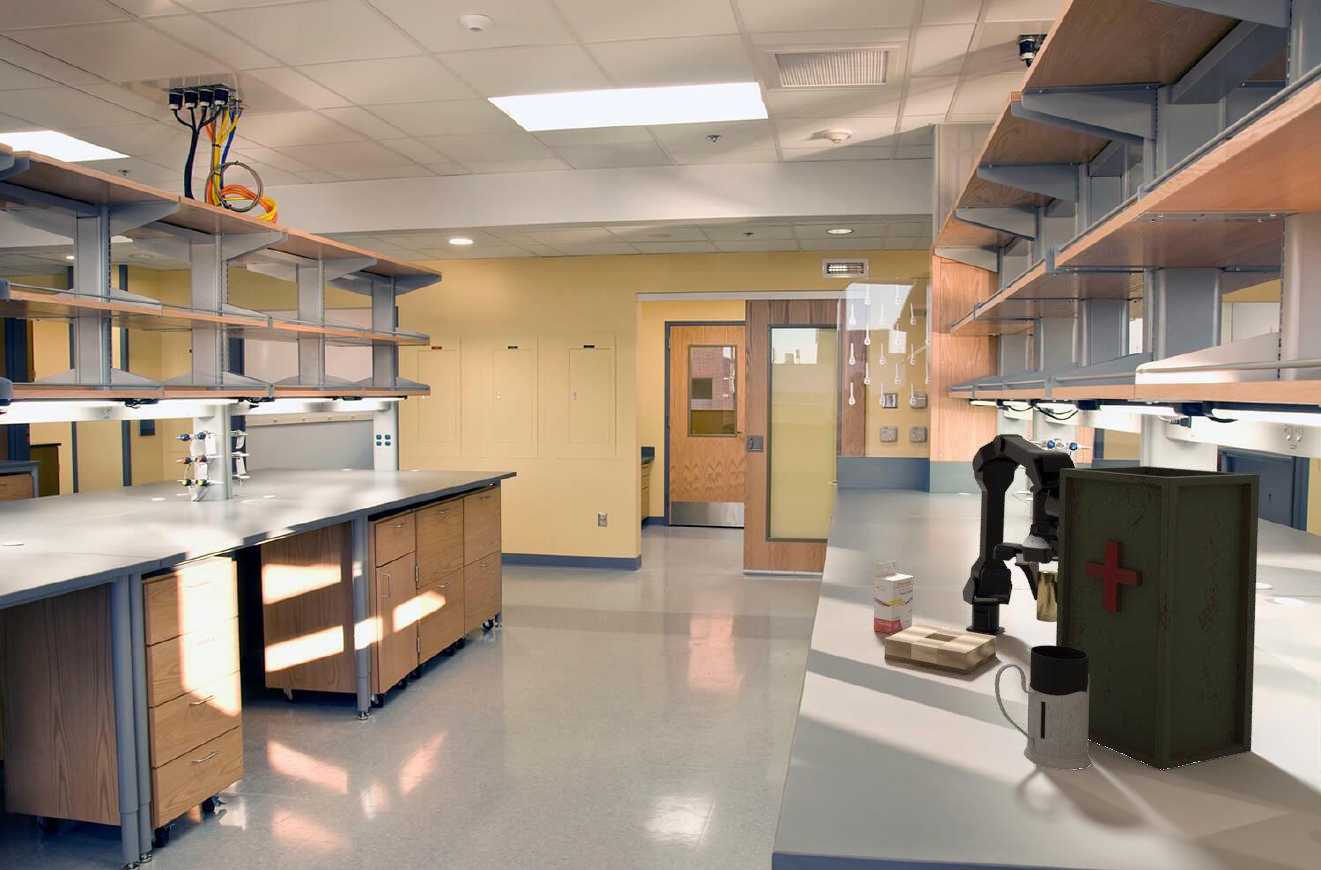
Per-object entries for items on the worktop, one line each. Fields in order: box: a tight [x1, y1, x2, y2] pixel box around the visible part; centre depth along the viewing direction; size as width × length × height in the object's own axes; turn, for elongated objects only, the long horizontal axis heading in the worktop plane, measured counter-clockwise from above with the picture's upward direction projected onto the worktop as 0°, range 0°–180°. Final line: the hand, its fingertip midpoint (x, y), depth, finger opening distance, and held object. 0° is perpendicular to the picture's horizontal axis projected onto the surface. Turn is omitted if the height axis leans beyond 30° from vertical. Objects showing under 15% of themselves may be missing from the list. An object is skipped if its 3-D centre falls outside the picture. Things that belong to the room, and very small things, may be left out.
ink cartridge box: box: [873, 559, 914, 635], centre depth 200 cm, size 9×5×15 cm, turn 135°
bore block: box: [884, 623, 997, 676], centre depth 178 cm, size 16×16×4 cm
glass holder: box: [994, 644, 1092, 770], centre depth 127 cm, size 9×14×15 cm, turn 102°
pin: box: [1035, 570, 1058, 623], centre depth 171 cm, size 4×4×9 cm
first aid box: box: [1055, 465, 1260, 771], centre depth 135 cm, size 18×18×40 cm
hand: (1047, 601), depth 171 cm, fingers closed on pin, 4 cm apart
